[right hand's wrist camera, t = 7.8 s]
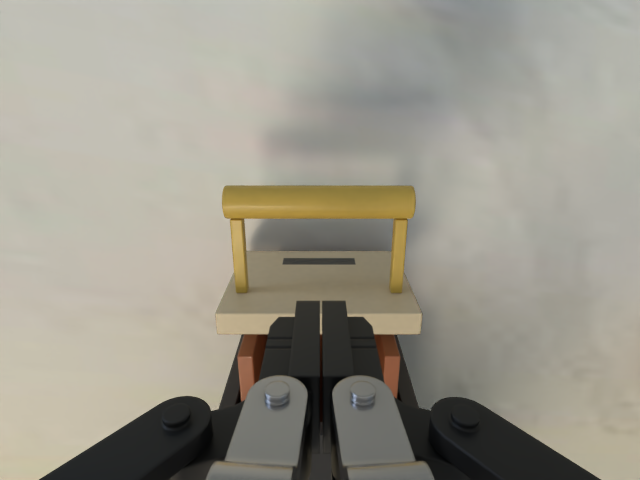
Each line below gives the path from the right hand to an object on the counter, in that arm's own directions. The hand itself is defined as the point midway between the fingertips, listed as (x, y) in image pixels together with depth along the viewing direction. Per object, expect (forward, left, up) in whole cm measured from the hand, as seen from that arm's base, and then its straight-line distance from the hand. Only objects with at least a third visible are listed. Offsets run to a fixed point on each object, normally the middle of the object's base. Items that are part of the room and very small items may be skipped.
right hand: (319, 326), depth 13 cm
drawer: (-6, -4, -14) cm, 16 cm away
